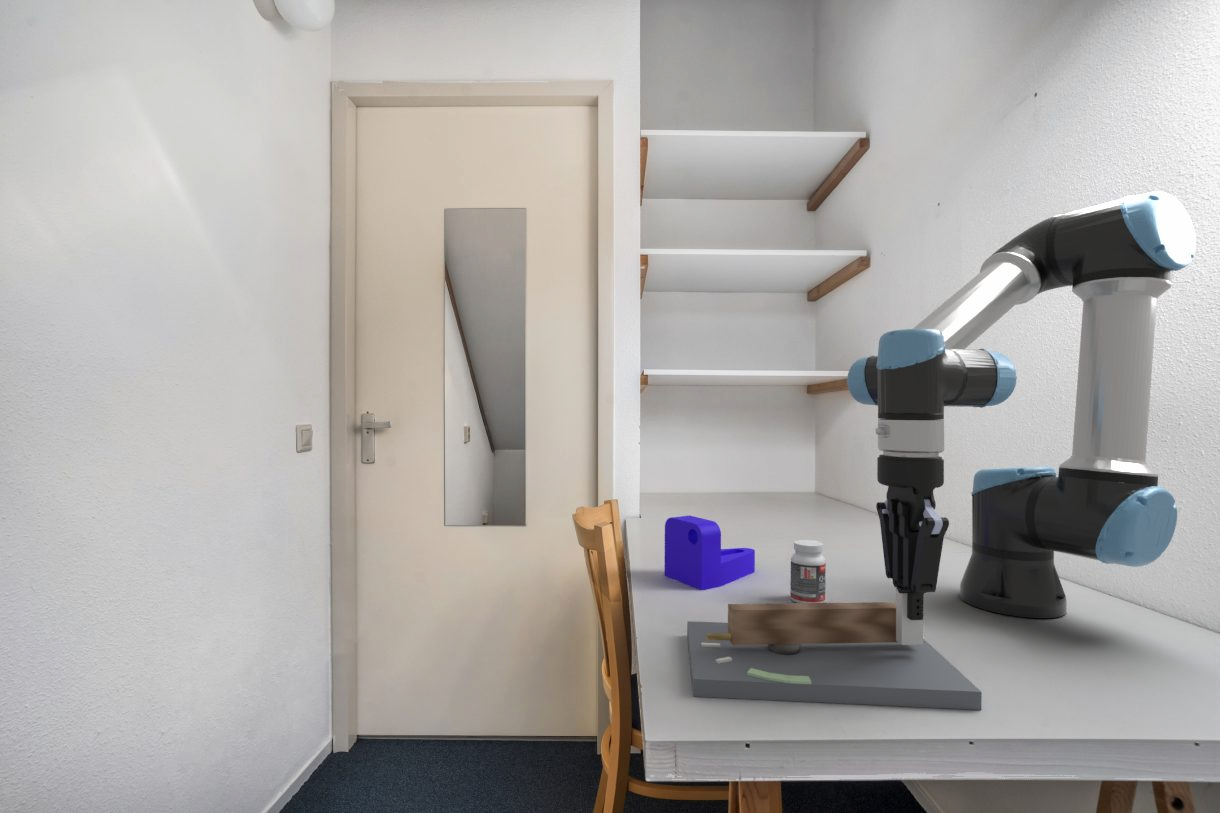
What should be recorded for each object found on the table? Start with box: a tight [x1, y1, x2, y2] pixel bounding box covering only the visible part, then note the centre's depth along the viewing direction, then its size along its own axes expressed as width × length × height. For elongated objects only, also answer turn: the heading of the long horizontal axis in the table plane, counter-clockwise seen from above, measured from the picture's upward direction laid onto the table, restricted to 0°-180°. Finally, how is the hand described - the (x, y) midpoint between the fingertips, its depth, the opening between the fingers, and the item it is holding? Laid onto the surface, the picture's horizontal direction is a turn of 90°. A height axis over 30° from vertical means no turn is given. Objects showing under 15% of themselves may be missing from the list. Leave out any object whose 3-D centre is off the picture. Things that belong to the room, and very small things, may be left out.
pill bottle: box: [789, 539, 827, 603], centre depth 107 cm, size 6×6×10 cm
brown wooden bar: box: [706, 601, 897, 655], centre depth 81 cm, size 28×4×5 cm, turn 93°
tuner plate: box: [686, 621, 983, 711], centre depth 80 cm, size 32×19×2 cm, turn 85°
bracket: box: [663, 515, 756, 591], centre depth 122 cm, size 18×11×12 cm, turn 122°
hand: (909, 642), depth 79 cm, fingers closed
